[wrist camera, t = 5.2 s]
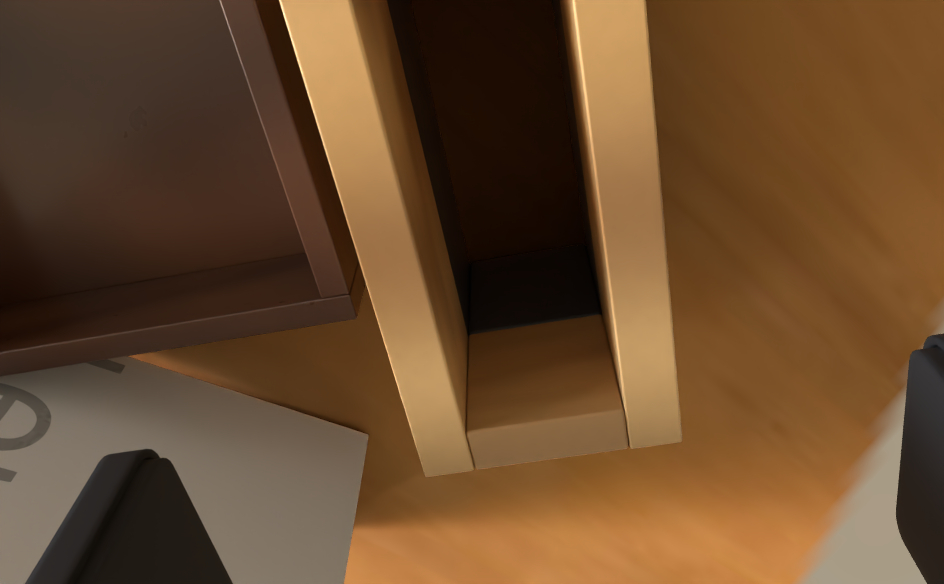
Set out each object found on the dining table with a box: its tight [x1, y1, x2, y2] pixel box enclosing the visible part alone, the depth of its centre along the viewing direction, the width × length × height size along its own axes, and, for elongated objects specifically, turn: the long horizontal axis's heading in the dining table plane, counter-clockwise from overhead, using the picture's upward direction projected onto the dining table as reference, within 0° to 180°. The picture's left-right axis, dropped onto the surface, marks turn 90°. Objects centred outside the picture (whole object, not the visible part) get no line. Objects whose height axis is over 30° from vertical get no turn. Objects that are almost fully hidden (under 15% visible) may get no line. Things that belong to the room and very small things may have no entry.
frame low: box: [387, 0, 603, 338], centre depth 21 cm, size 12×6×4 cm, turn 11°
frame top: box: [279, 0, 682, 477], centre depth 17 cm, size 12×6×4 cm, turn 11°
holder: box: [0, 0, 366, 377], centre depth 20 cm, size 16×13×4 cm
